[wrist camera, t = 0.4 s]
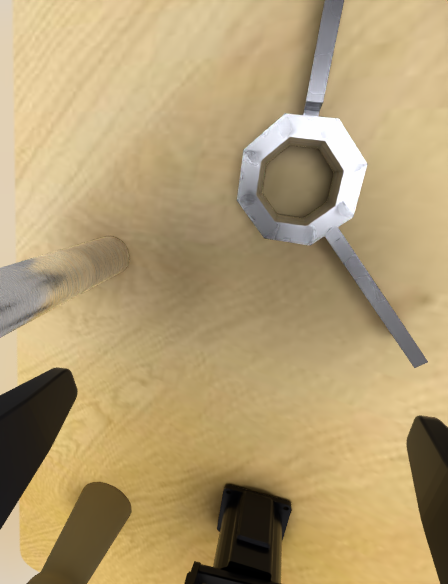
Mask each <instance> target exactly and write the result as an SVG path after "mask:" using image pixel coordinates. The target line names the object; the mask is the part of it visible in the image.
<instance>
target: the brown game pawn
mask: <svg viewBox="0 0 448 584" xmlns="http://www.w3.org/2000/svg"><path fill="white" fill-rule="evenodd" d="M130 513H131V505H130V502H129V500H128V499H127V497H126V496H125V495H124V494H123V493H122V492H121V491H119V490H118V489H117V488H115V487H113V486H111V485H109V484H105V483H101V482H93V483H90V484H88V485H87V486H86V487H85V488H84V489H83V491H82V493H81V495H80V497H79V499H78V501H77V502H76V504H75V506H74V508H73V510H72V512H71V514H70V516H69V518H68V520H67V522H66V524H65V526H64V528H63V530H62V532H61V534H60V536H59V538H58V539H57V541H56V543H55V545H54V547H53V549H52V551H51V553H50V555H49V557H48V559H47V561H46V563H45V565H44V567H43V569H42V571H41V572H40V573H39V574H37V575H35V576H34V577H33V578H32V579H31V580H30V581H29V582H28V583H27V584H87V583H88V581H89V580H90V578H91V576H92V575H93V573H94V572H95V570H96V568H97V567H98V565H99V564H100V562H101V561H102V559H103V557H104V556H105V554H106V553H107V551H108V549H109V548H110V546H111V545H112V543H113V541H114V540H115V538H116V537H117V535H118V534H119V532H120V530H121V529H122V527H123V526H124V524H125V522H126V521H127V519H128V518H129V516H130Z"/></svg>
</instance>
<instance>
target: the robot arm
mask: <svg viewBox="0 0 448 584" xmlns="http://www.w3.org/2000/svg"><path fill="white" fill-rule="evenodd" d="M76 397H77V387H76V384H75V381H74V378H73V375H72V372H71V371H70V370H69V369H65V368H53V369H51V370H49V371H47V372H45V373H43V374H41V375H39V376H37V377H35V378H33V379H31V380H29V381H27V382H25V383H23V384H21V385H20V386H18V387H16V388H14V389H12V390H10V391H8V392H6V393H4V394H2V395H0V529H1V528H2V526H3V525H4V523H5V521H6V520H7V518H8V516H9V515H10V513H11V512H12V510H13V509H14V507H15V505H16V503H17V502H18V501H19V499H20V497H21V496H22V494H23V492H24V491H25V489H26V488H27V486H28V484H29V483H30V481H31V480H32V478H33V476H34V475H35V473H36V472H37V470H38V468H39V467H40V465H41V464H42V462H43V460H44V459H45V457H46V455H47V454H48V452H49V450H50V449H51V447H52V445H53V443H54V441H55V439H56V437H57V435H58V433H59V431H60V429H61V427H62V425H63V423H64V421H65V419H66V417H67V415H68V413H69V411H70V409H71V407H72V405H73V403H74V402H75V400H76ZM407 452H408V457H409V462H410V467H411V472H412V477H413V482H414V487H415V492H416V497H417V503H418V508H419V512H420V517H421V521H422V524H423V528H424V532H425V535H426V538H427V542H428V545H429V548H430V551H431V555H432V558H433V561H434V565H435V568H436V571H437V574H438V578H439V581H440V584H448V427H447V426H446V425H445V424H444V423H443V422H442V421H440V420H439V419H437V418H435V417H428V416H417V417H415V419H414V422H413V424H412V427H411V429H410V432H409V434H408V437H407ZM290 513H291V503H290V502H289V501H286V500H283V499H279V498H276V497H272V496H268V495H265V494H261V493H258V492H254V491H250V490H247V489H243V488H240V487H236V486H232V485H225V487H224V491H223V497H222V502H221V508H220V514H219V520H218V526H217V530H218V531H219V532H220V534H219V539H218V544H217V549H216V554H215V559H214V564H213V567H211V566H206V565H202V564H201V563H200V562H196V561H194V564H193V567H192V570H191V572H190V571H189V573H187V576H186V580H185V584H281V551H282V540H283V537H284V533H285V530H286V527H287V523H288V520H289V516H290Z"/></svg>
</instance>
